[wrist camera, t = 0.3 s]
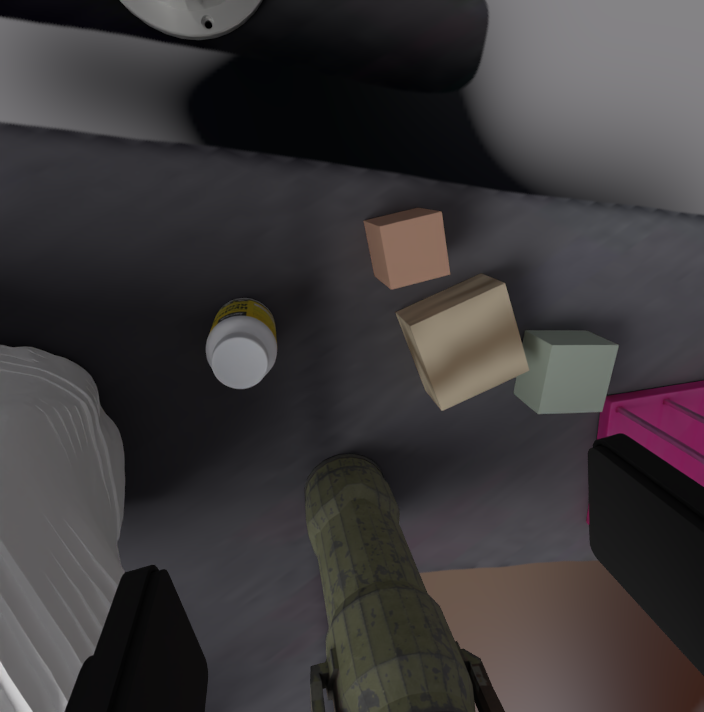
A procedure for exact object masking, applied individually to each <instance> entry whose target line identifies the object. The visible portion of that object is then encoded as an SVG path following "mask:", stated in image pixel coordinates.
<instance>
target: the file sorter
mask: <svg viewBox="0 0 704 712" xmlns="http://www.w3.org/2000/svg"><path fill="white" fill-rule="evenodd" d="M618 433H623V434H625V435H627V436H629V437H630V438H632V439H633V440H635V441H636V442H638V443H639V444H641V445H642V446H644V447H645V448H647V449H648V450H650V451H651V452H653V453H654V454H656V455H657V456H659V457H660V458H661V459H663V460H664V461H666V462H667V463H669V464H670V465H672V466H673V467H675V468H676V469H678V470H679V471H681V472H682V473H684V474H685V475H687V476H688V477H690V478H691V479H693V480H694V481H696V482H697V483H699V484H700V485H702V486H703V487H704V380H703V381H697V382H691V383H685V384H679V385H673V386H666V387H660V388H654V389H648V390H641V391H635V392H629V393H623V394H616V395H609V396H606V399H605V403H604V407H603V411H602V412H600V418H599V426H598V434H597V439H601V438H604V437H608V436H611V435H615V434H618ZM586 521H587V523H588V524H589V505H588V512H587V520H586Z"/></svg>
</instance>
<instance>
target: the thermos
mask: <svg viewBox="0 0 704 712" xmlns="http://www.w3.org/2000/svg"><path fill="white" fill-rule="evenodd" d="M304 492H305V513H306V522H307V529H308V536H309V539H310V541H311V544H312V547H313V550H314V553H315V555H316V556H317V558H318V562H319V568H320V574H321V580H322V587H323V593H324V599H325V606H326V612H327V618H328V624H329V630H328V633H327V636H326V655H327V659H326V662H325V663H321V664H317V665H313V666H311V674H310V699H311V712H325V706H324V698H323V689H324V688H326V690H327V698H328V700H333V703H334V710H335V712H475V703H476V706H477V708H478V711H479V712H505V711H504V709H503V707H502V705H501V703H500V701H499V699H498V697H497V695H496V693H495V691H494V689H493V687H492V684H491V682H490V680H489V677H488V675H487V673H486V670H485V668H484V666H483V663H482V661H481V659H480V658H478V657H477V656H475V655H473V654H472V653H470V652H468V651H466V650H465V649H460V647H459V645H458V642H457V641H456V642H455V640H454V638H453V636H452V633H451V631H450V629H449V626H448V624H447V622H446V619H445V617H444V615H443V612H442V610H441V608H440V606H439V605H438V604H437V603H436V602H435V601H434V600H433V599H432V598H431V597H430V596H429V595H428V593H427V591H426V589H425V586H424V584H423V581H422V579H421V576H420V574H419V572H418V569H417V567H416V564H415V562H414V559H413V557H412V555H411V552H410V550H409V547H408V545H407V542H406V540H405V538H404V535H403V533H402V530H401V528H400V525H399V508H398V505H397V503H396V501H395V498H394V496H393V494H392V491H391V489H390V487H389V484H388V483H387V482H386V480H385V479H384V477H383V475H382V472H381V470H380V468H379V467H378V466H377V465H376V464H375V463H374V462H373V461H372V460H370V459H368V458H366V457H364V456H361V455H356V454H342V455H336V456H334V457H331V458H329V459H326V460H325V461H323V462H322V463H321V464H319V465H318V466H317V467H315V468H314V470H313V471H312V473H311V474H310V475H309V477H308V479H307V482H306V485H305V488H304ZM474 701H475V703H474Z"/></svg>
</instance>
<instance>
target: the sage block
mask: <svg viewBox="0 0 704 712" xmlns="http://www.w3.org/2000/svg"><path fill="white" fill-rule="evenodd" d="M522 345H523V349H524V353H525V356H526V360H527V363H528V367H529V370H530V371H528V372H525V373H523V374H521V375H519V376H517V377H516V382H515V388H514V395H516V396H517V397H518V398H519V399H520V400H522V401H523V402H524V403H525V404H526V405H528V406H529V407H530V408H531V409H532V410H534V411H535V412H536V413H537V414H557V413H586V412H602V411H603V407H604V403H605V399H606V395H607V391H608V387H609V383H610V379H611V375H612V371H613V367H614V363H615V359H616V355H617V351H618V347H619V345H618V344H616V343H614V342H611V341H609V340H607V339H605V338H602V337H600V336H598V335H596V334H594V333H591V332H589V331H587V330H525V333H524V338H523V344H522Z"/></svg>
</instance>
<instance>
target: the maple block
mask: <svg viewBox="0 0 704 712" xmlns="http://www.w3.org/2000/svg"><path fill="white" fill-rule="evenodd" d="M395 313H396V316H397V318H398V321H399V323H400V326H401V329H402V331H403V334H404V336H405V339H406V341H407V344H408V347H409V349H410V352H411V354H412V357H413V360H414V362H415V365H416V367H417V370H418V373H419V375H420V378H421V380H422V383H423V386H424V388H425V391H426V392H427V393H428V394H429V396H430V397H431V398H432V399H433V401H434V402H435V403H436V404H437V405H438V407H439V408H440V409H441V410H442V411H443V410H445V409H447V408H450V407H452V406H454V405H456V404H458V403H460V402H463V401H465V400H467V399H469V398H471V397H473V396H476V395H478V394H480V393H482V392H484V391H486V390H489V389H491V388H493V387H495V386H497V385H499V384H502V383H504V382H506V381H508V380H510V379H512V378H515V377H517V376H519V375H521V374H523V373H525V372H528V371H530V370H529V367H528V363H527V360H526V356H525V353H524V349H523V345H522V342H521V338H520V335H519V331H518V327H517V324H516V320H515V317H514V313H513V310H512V306H511V302H510V299H509V295H508V292H507V288H506V285H505V283H504V282H501V281H499V280H496V279H494V278H491V277H489V276H487V275H484V274H482V273H481V274H479V275H476V276H474V277H472V278H470V279H468V280H465V281H463V282H461V283H459V284H457V285H454V286H452V287H450V288H448V289H446V290H443V291H441V292H439V293H437V294H435V295H432V296H430V297H428V298H426V299H424V300H421V301H419V302H417V303H415V304H413V305H410V306H408V307H406V308H404V309H402V310H399V311H397V312H395Z"/></svg>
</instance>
